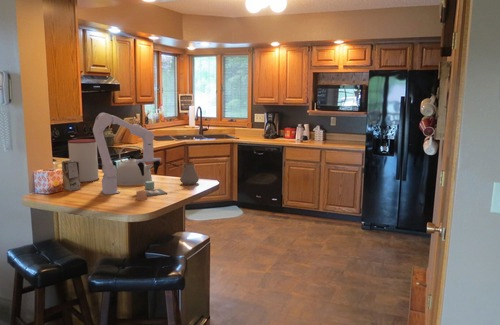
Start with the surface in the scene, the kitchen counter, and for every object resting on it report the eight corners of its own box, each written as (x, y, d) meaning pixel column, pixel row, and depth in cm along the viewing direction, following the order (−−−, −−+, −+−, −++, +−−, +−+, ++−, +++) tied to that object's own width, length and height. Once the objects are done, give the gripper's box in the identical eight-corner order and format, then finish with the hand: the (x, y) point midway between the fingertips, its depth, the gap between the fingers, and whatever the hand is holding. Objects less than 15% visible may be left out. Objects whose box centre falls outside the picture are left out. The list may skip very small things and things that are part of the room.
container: (67, 179, 269) (64, 140, 265) (95, 176, 278) (93, 138, 274) (73, 184, 255) (70, 143, 251) (102, 180, 264) (100, 141, 260)
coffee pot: (192, 180, 266) (191, 157, 263) (202, 183, 257) (202, 159, 255) (162, 185, 252) (161, 161, 249) (172, 189, 243) (171, 163, 241)
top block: (136, 198, 223) (136, 191, 222) (144, 197, 225) (143, 190, 224) (139, 200, 219) (139, 192, 219) (146, 199, 222) (146, 191, 221)
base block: (145, 188, 246) (144, 181, 245) (151, 187, 248) (151, 180, 247) (147, 189, 242) (147, 182, 242) (154, 188, 245) (154, 182, 244)
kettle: (160, 178, 272) (159, 144, 268) (146, 186, 250) (145, 148, 246) (124, 177, 277) (123, 142, 273) (107, 184, 255) (105, 147, 251)
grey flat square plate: (141, 192, 236) (141, 191, 236) (159, 189, 242) (159, 188, 242) (148, 196, 227) (148, 195, 227) (167, 193, 233) (167, 192, 233)
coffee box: (80, 189, 242) (79, 161, 239) (69, 191, 238) (67, 163, 235) (73, 186, 248) (71, 159, 246) (62, 188, 244) (60, 161, 241)
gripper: (138, 153, 234) (139, 177, 236) (163, 151, 242) (163, 174, 244) (134, 151, 240) (135, 175, 242) (158, 149, 248) (159, 172, 250)
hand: (149, 174), depth 244 cm, fingers open, 7 cm apart
